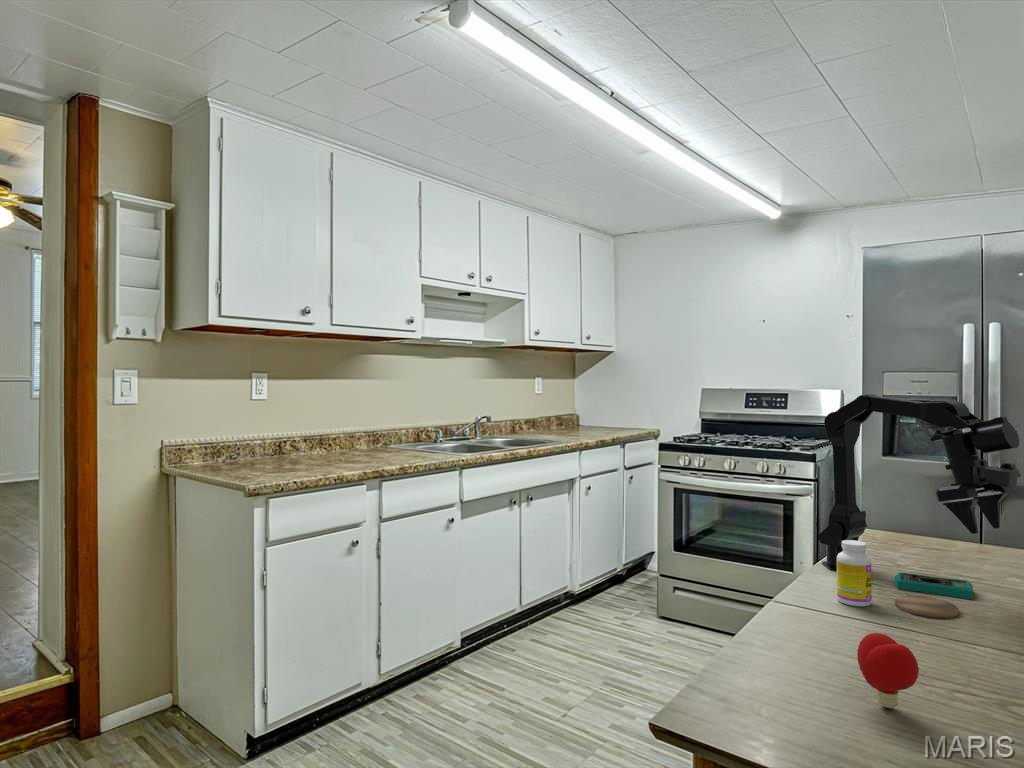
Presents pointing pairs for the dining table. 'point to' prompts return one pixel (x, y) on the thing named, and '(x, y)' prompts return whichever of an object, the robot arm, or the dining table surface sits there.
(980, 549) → the dining table surface
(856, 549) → the supplement bottle
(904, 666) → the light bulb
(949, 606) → the coaster
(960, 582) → the digital multimeter
